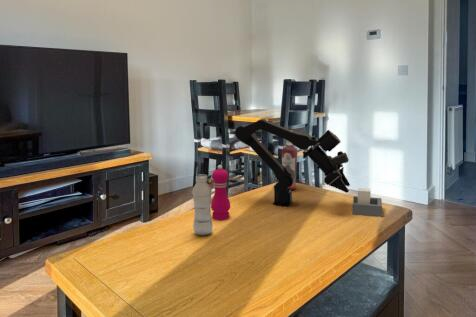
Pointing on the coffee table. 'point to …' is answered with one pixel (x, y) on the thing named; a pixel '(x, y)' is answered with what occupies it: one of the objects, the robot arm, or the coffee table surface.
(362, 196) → the white rectangular block
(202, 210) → the plastic bottle
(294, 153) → the liquor
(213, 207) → the pepper mill
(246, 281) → the coffee table surface
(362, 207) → the frame
